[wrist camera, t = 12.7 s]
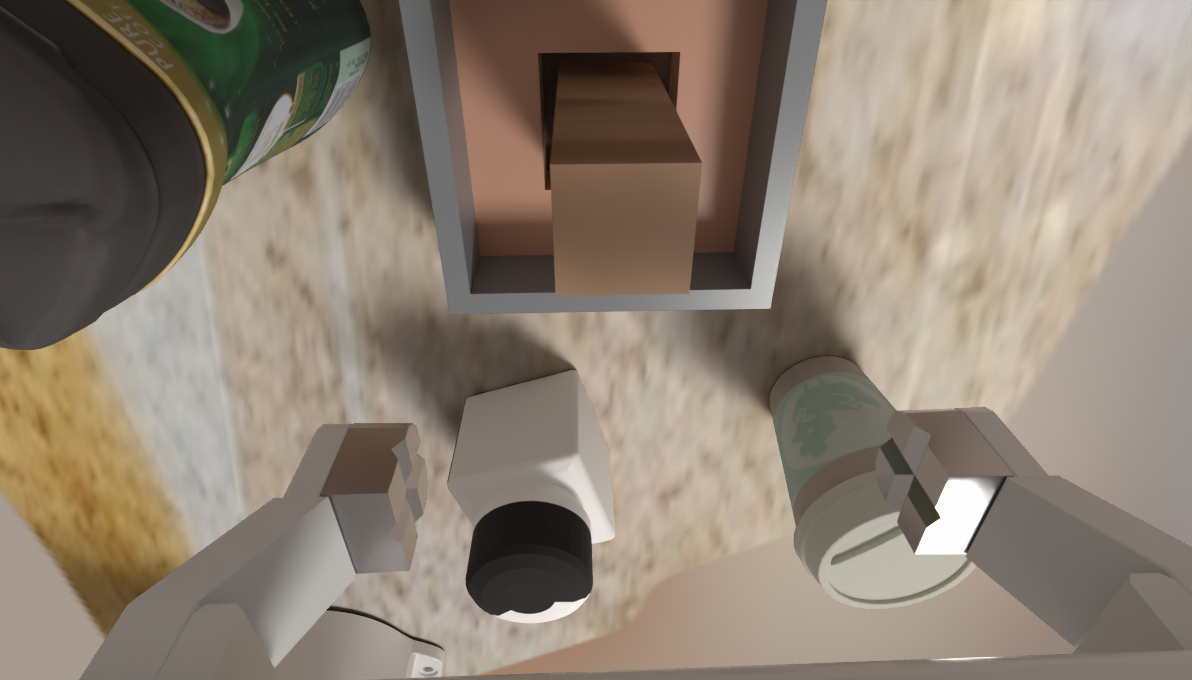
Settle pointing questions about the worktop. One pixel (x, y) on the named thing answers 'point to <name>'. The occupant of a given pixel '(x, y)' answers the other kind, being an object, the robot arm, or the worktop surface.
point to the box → (518, 148)
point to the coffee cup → (848, 490)
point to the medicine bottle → (532, 496)
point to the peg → (621, 183)
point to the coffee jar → (144, 135)
